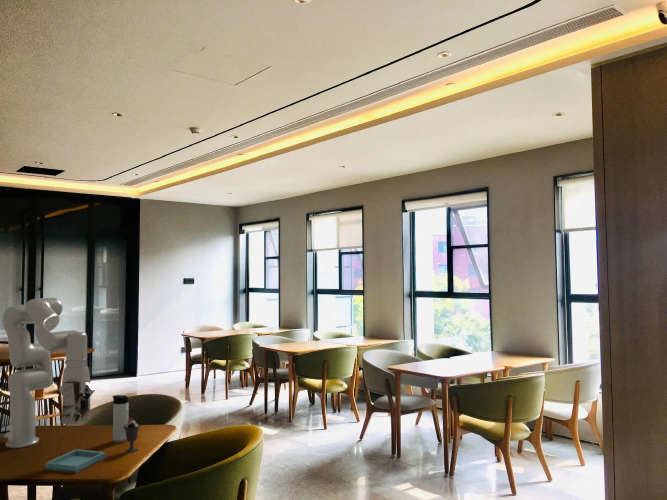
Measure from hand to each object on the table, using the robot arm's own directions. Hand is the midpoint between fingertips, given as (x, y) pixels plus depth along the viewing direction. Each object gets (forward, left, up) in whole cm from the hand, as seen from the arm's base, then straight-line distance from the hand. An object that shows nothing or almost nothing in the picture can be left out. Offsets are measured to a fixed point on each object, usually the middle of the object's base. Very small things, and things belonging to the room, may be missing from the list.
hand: (76, 408), depth 215 cm
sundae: (+13, +17, -21) cm, 30 cm away
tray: (+2, -2, -20) cm, 21 cm away
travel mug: (0, +27, -21) cm, 34 cm away
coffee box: (0, 0, -5) cm, 5 cm away
